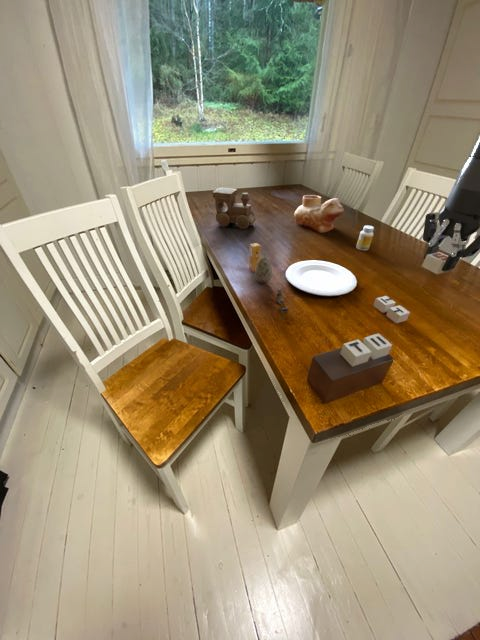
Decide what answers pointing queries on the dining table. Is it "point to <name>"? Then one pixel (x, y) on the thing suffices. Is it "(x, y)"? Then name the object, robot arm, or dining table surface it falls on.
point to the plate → (321, 278)
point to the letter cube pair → (391, 309)
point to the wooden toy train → (232, 208)
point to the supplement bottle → (365, 238)
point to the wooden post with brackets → (281, 300)
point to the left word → (365, 349)
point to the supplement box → (254, 255)
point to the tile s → (435, 262)
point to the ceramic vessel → (318, 213)
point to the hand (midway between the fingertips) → (436, 265)
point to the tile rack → (344, 374)
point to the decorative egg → (263, 270)
